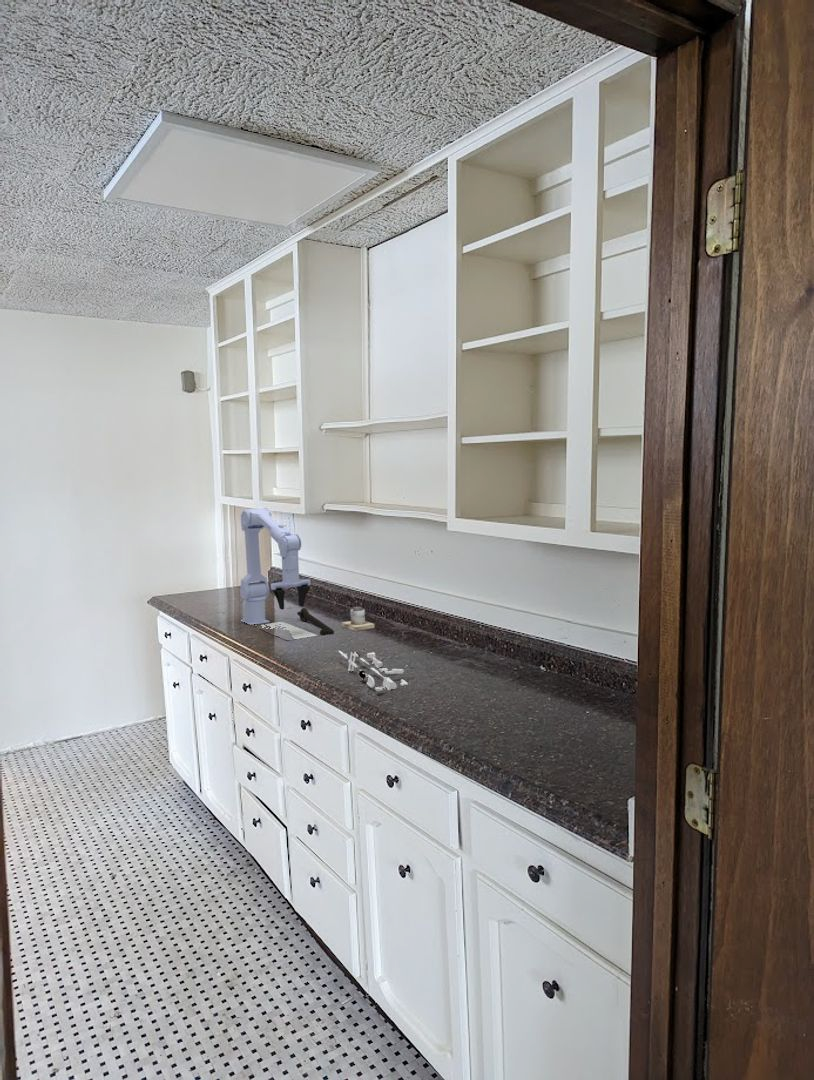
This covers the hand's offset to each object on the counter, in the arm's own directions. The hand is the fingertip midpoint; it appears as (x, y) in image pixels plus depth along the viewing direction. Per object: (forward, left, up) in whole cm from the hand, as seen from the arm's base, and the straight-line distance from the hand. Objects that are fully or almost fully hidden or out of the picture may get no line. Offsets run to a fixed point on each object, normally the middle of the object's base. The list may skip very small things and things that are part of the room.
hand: (291, 607), depth 249 cm
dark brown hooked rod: (-7, +12, -10) cm, 18 cm away
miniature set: (+58, -4, -10) cm, 59 cm away
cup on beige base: (+5, +25, -10) cm, 27 cm away
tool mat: (-7, +1, -10) cm, 12 cm away
